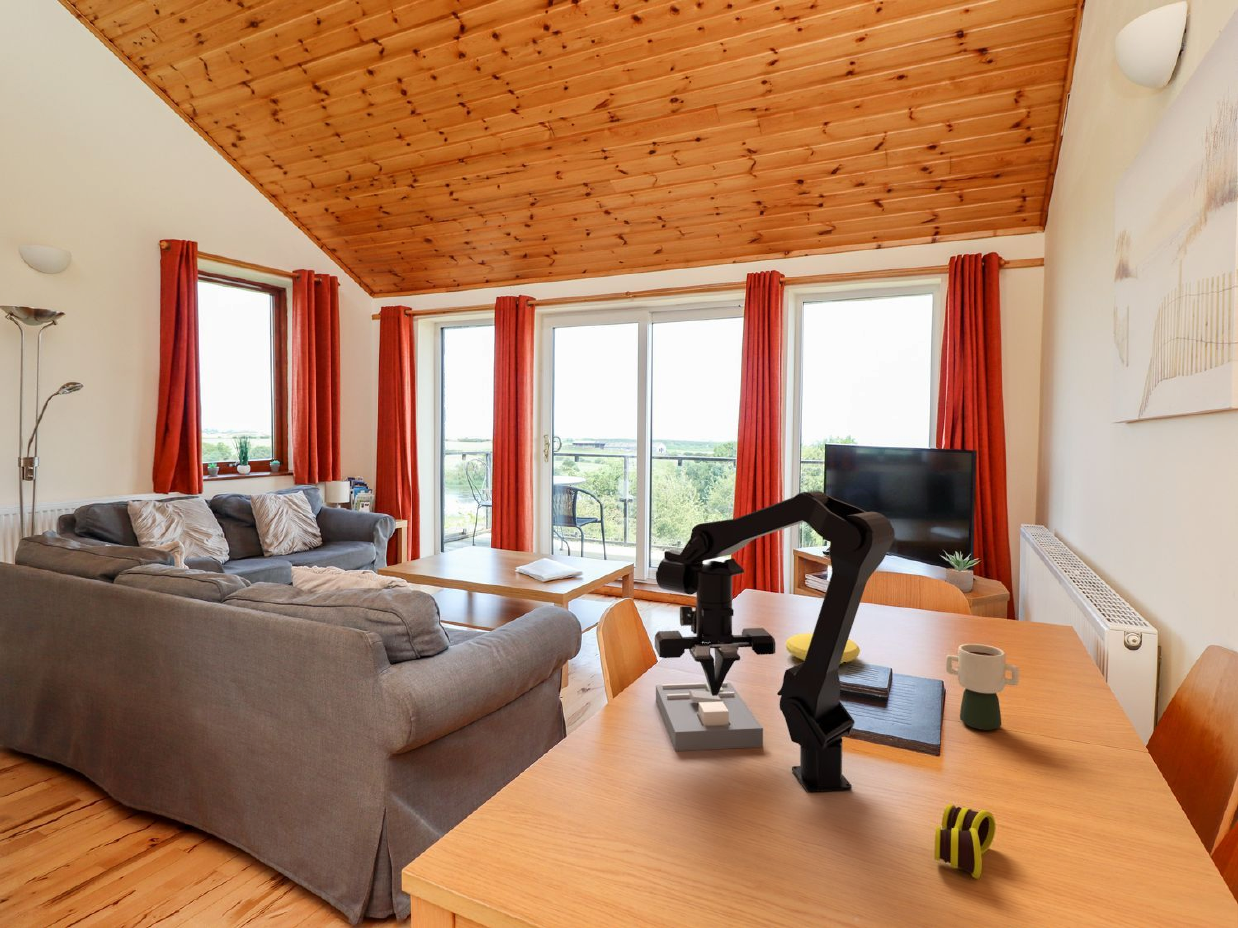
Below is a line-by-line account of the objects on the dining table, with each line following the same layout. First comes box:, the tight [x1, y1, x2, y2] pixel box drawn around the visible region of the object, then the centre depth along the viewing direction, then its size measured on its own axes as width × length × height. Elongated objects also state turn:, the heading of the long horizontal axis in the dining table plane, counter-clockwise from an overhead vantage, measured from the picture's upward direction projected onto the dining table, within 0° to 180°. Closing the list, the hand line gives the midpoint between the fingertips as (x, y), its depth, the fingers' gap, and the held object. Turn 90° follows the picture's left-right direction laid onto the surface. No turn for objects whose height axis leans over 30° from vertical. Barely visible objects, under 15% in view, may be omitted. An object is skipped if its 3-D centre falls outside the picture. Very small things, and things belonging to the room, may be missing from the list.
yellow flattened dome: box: [785, 632, 861, 665], centre depth 149 cm, size 16×16×7 cm
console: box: [655, 681, 764, 752], centre depth 116 cm, size 20×14×4 cm
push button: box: [699, 702, 729, 726], centre depth 110 cm, size 4×4×3 cm
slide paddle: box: [704, 665, 723, 692], centre depth 122 cm, size 4×2×4 cm, turn 6°
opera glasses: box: [934, 803, 997, 879], centre depth 79 cm, size 10×5×5 cm, turn 143°
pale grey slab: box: [689, 690, 721, 703], centre depth 117 cm, size 3×5×1 cm
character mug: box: [945, 643, 1020, 730], centre depth 115 cm, size 11×7×13 cm, turn 54°
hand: (714, 694), depth 110 cm, fingers closed
